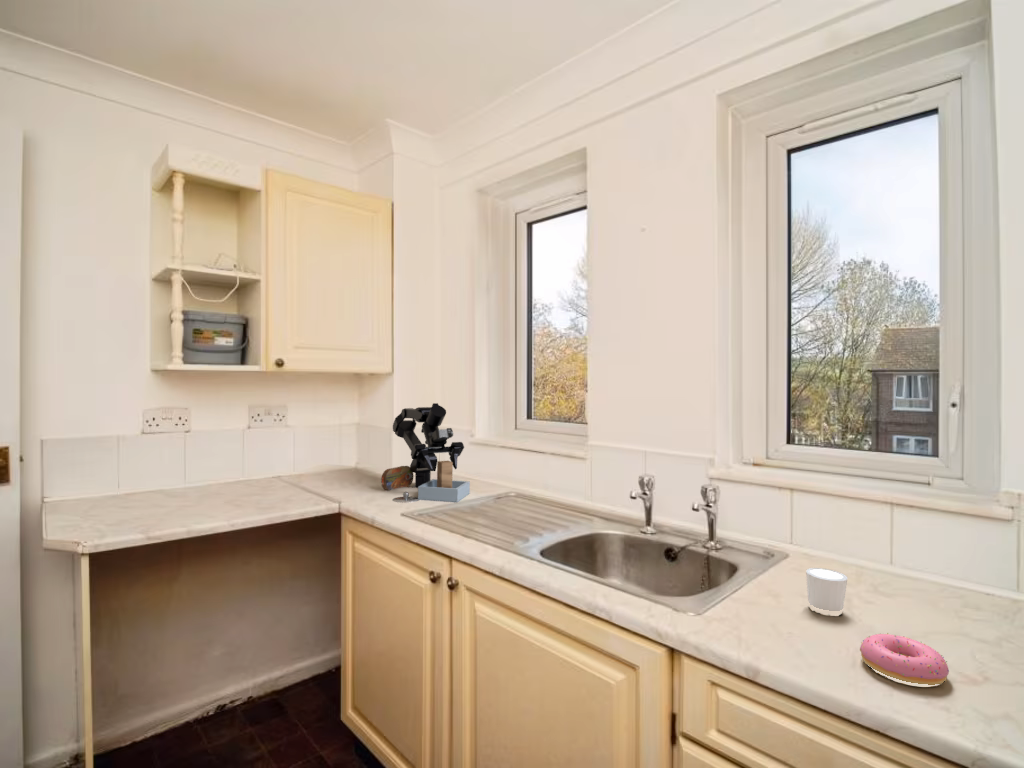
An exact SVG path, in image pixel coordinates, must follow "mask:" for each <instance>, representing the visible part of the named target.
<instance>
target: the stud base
mask: <svg viewBox="0 0 1024 768" xmlns="http://www.w3.org/2000/svg"><path fill="white" fill-rule="evenodd" d="M418 501H419V500H418V496H417V497H416V496H410V493H409V492H408V491H405V492H403V493H402V496H398V497H394V498H392V502H394V503H402V504H403V503H406V504H407V503H408V504H409V503H415V502H418Z"/></svg>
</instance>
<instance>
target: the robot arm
mask: <svg viewBox="0 0 1024 768" xmlns="http://www.w3.org/2000/svg"><path fill="white" fill-rule="evenodd" d="M446 415H447V410H446V409H445V408H444V407H443V406H442V405H439V403H438V402H436V403H434V402H433V403H432V404H431V406H424V407H423V406H420V407H416V408H412V407H409V408H408V407H407V408H402V410H401V411H400V414H398V415H397V416H396V417H394V421H393V423H392V431H393V433H394V432H395V433H394V434H395V435H396V436H397V437H399V438H402V439H403V440H404V442H405V443H406V445H407V446H408V448H409V450H410V456H411V459H412V461H411V463H410V465H409V467H410V470H411V471H412V472H413V474H414V473H415V476H414V477H415V478H414V479H415V480H414V481H415V482H414V485H413V486H411V488H418V487H419V486H421V485H423V484H425V483H426V482H428V481H430V480H431V474H432V473H431V472H436V471H437V461H438V458H437V455H436V454H445V453H448V455H449V461H450V462H453V469H454V470H457V468H458V457H461V454H462V453H463V451H464V449H465V445H464V442H462V441H452V442H451V444H450V445H449V446H445V445H447V444H448V442H447V441H448V439H451V438H452V437H453V436H454V431H453V428H451V427H448V428H446V429H445V428H443V429H442V428H441V429H440V428H439V427H440V426H441V425H442V424H443V421H444V419H445V417H446ZM406 419H407V420H406ZM409 419H410V420H409ZM411 419H412V420H411ZM417 423H420V424H421V423H422V425H421V431H420V432H421V433H422V434H423V435H424V438H425V441H424V443H422V442H421V440H420V439H419V437H418V435H417V434H416V433H415V429H416V426H417Z"/></svg>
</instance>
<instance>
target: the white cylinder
mask: <svg viewBox="0 0 1024 768" xmlns="http://www.w3.org/2000/svg"><path fill="white" fill-rule="evenodd" d="M805 574H806V577H805V578H806V586H807V587H806V589H807V590H806V591H807V601H808V602H809V603H810V605H813V606H814V607H816V608H819V609H823V610H829V611H840V610H842V609H843V610H844V607H845V606H844V605H845V600H846V599H845V598H846V591H847V585H848V576H847V575H845V574H844V573H841V572H839V571H836V570H833V569H829V568H821V567H809V568H807V569H806V571H805Z"/></svg>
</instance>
